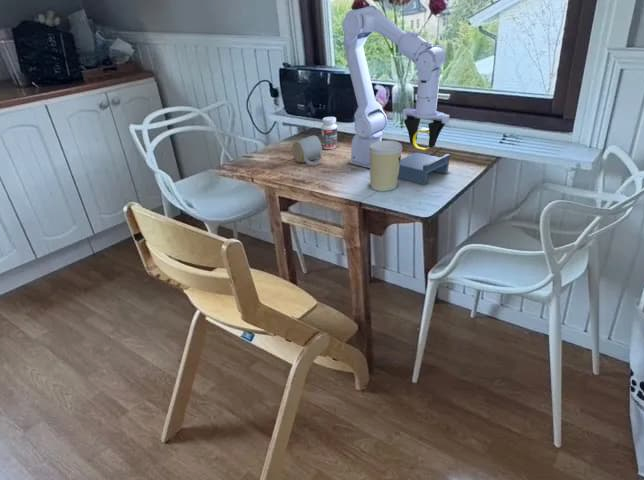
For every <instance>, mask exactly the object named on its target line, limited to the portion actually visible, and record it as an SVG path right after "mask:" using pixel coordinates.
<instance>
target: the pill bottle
mask: <svg viewBox="0 0 644 480" xmlns="http://www.w3.org/2000/svg"><path fill="white" fill-rule="evenodd" d="M336 122H337V117H335V116H325V117H323V118H322V124H321V125H320V130H321V132H320V143H321V146H322V149H324V150H332V149H335V148H337V146H338V125H337V124H336Z"/></svg>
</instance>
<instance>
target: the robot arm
mask: <svg viewBox="0 0 644 480" xmlns="http://www.w3.org/2000/svg"><path fill="white" fill-rule="evenodd" d="M341 27H342V31H343V51H344V54H345V58H346V63H347V67H348V71H349V74H350V79H351V82H352V87H353V92H354V95H355V100H356V103H357V108H356V111H355V113H354V114H353V116H354V117H353V118H354V131H355V134H354V136H353V137H352V140H351V146H350V147H351V148H350V149H351V150H350V161H349V164H352V165H355V166H359V167H364V168H366V169H367V168H368V169H370V151H369V148H370V145H371V144H373V143H375V142H378V141H383V134H384V130H385V129H386V128H387V125H388V116H387V114H386V113H385V111H384V110H383V109H384V108H383V106H382V104H380V103H379V102H378V101H377V100H376V97H375V93H374V87H373V84H372V80H371V75H370V71H369V67H368V62H367V58H366V54H365V49H364V46H365V43H366V42H367V40H368V38H369V37H370V36H371V34H373V33H374V32H375V33H377V34H380V35H381V36H383V37H384V38H386V39H387V40H389V41H391V42H392V43H394V44H396V45H397V50H398V53H400V55H402V56H404V57H405V58H407V59H408V60H409V61H411V62H412V63H414V64H415V69H416V71H417V79H418V81H417V91H416V102H415V108H408V107H407V108H404V109H402V117H403V118H405V119H404V120H403V123H404V125H405V127H406V129H407V134H408V139H409V144H410V145H413V136H414V134H415V133H416V132H417V131H419V126H420V122H421V120H426V121H432V122H430V123H428V124H427V126H428V128H429V135H428V146H429V147H430V148H429V149H431V148H434V147H435V146H436V143H437V140H438V138H439V135H440V134H441V131H442V130H443V128H444V127H445V125H446V124H447V123H449V122H450V114H447V113H444V112H441V111H437V109H438V107H437V105H438V97H439V90H440V89H439V88H440V81H441V71H442V67H443V66H444V65H445V63H446V61H447V54H446V53H447V52H446V51H445V49H444V48H443V46H441V45H439V44H436V45H433V43H432V42H431V41H427V40H425V39H424V38H422V37H421V36H419V35H420V33H419V32H418V31H417V30H414V31H412V30H410V31H408V32H405V31H404V30H403V29H402V28H401V27H399V26H398V25H397V24H395V23H394V22H393V21H392V20H391V19H390V18H389V17H387V16H386V15H385V14H384V12H383V10H381V9H379V8H377V6H375V5H368V6H365V7H362V8H358V9H351V10H349V11H348V12H347V13H346V14H345V16H344V19H343V21H342V23H341ZM417 140H418V134H417V135H416V141H417Z"/></svg>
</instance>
